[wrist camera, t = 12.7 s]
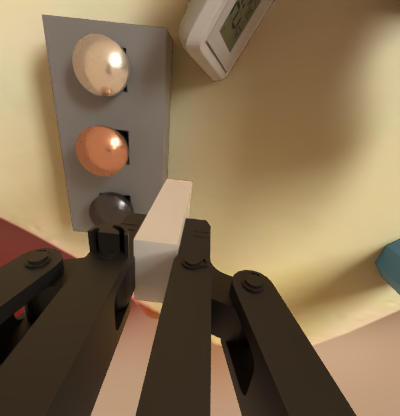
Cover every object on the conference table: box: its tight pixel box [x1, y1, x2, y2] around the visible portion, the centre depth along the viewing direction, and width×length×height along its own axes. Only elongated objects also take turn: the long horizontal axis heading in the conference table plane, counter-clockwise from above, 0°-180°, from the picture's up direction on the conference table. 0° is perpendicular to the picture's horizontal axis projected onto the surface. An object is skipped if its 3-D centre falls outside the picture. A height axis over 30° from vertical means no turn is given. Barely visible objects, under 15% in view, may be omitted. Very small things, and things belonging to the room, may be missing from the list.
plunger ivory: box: [72, 34, 130, 96], centre depth 26 cm, size 5×5×5 cm
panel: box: [42, 15, 173, 232], centre depth 31 cm, size 24×12×5 cm, turn 175°
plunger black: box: [89, 192, 134, 226], centre depth 32 cm, size 5×5×5 cm
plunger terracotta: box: [75, 125, 129, 177], centre depth 28 cm, size 5×5×5 cm
